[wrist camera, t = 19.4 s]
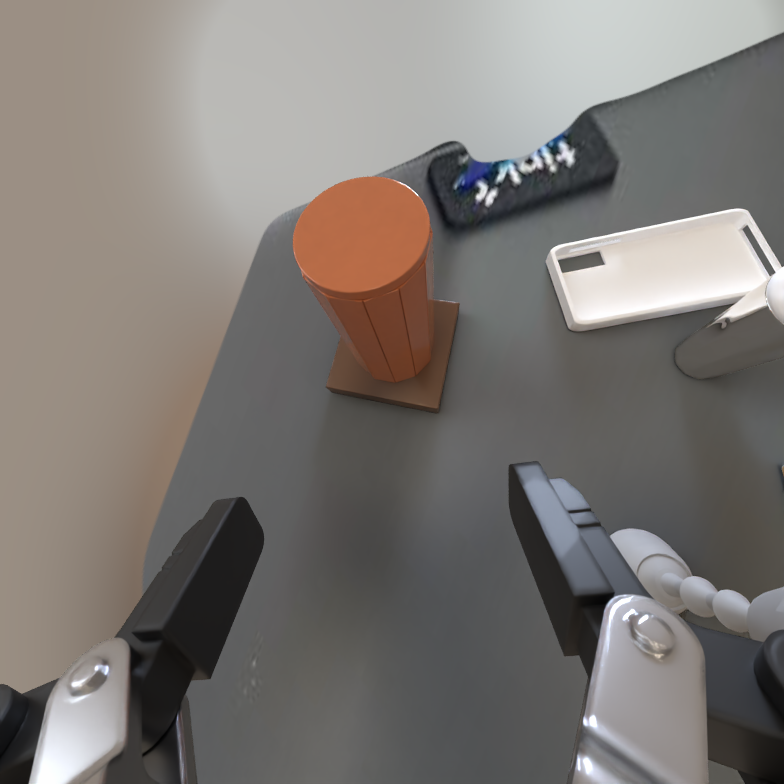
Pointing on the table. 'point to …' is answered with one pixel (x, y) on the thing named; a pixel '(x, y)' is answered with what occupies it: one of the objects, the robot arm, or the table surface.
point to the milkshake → (738, 334)
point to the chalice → (696, 587)
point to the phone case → (661, 270)
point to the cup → (372, 272)
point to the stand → (408, 392)
